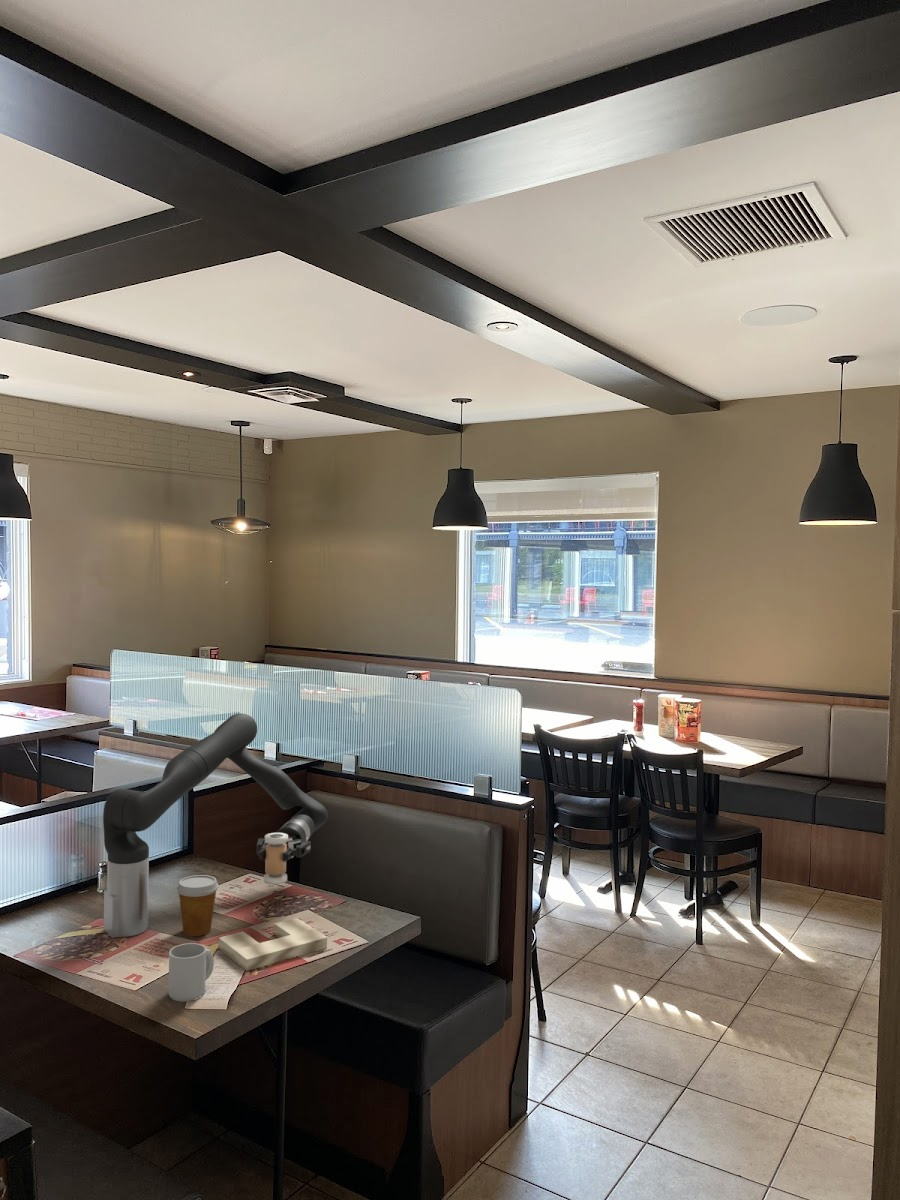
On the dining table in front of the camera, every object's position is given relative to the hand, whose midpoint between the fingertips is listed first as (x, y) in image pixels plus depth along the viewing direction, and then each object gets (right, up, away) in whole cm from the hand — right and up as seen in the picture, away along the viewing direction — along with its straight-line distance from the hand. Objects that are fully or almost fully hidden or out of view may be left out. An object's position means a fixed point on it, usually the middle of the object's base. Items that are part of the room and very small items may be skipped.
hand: (273, 856), depth 219 cm
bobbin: (0, -7, +3) cm, 7 cm away
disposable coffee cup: (-17, -17, -4) cm, 24 cm away
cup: (-10, -18, -34) cm, 40 cm away
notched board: (+2, -17, -12) cm, 22 cm away
